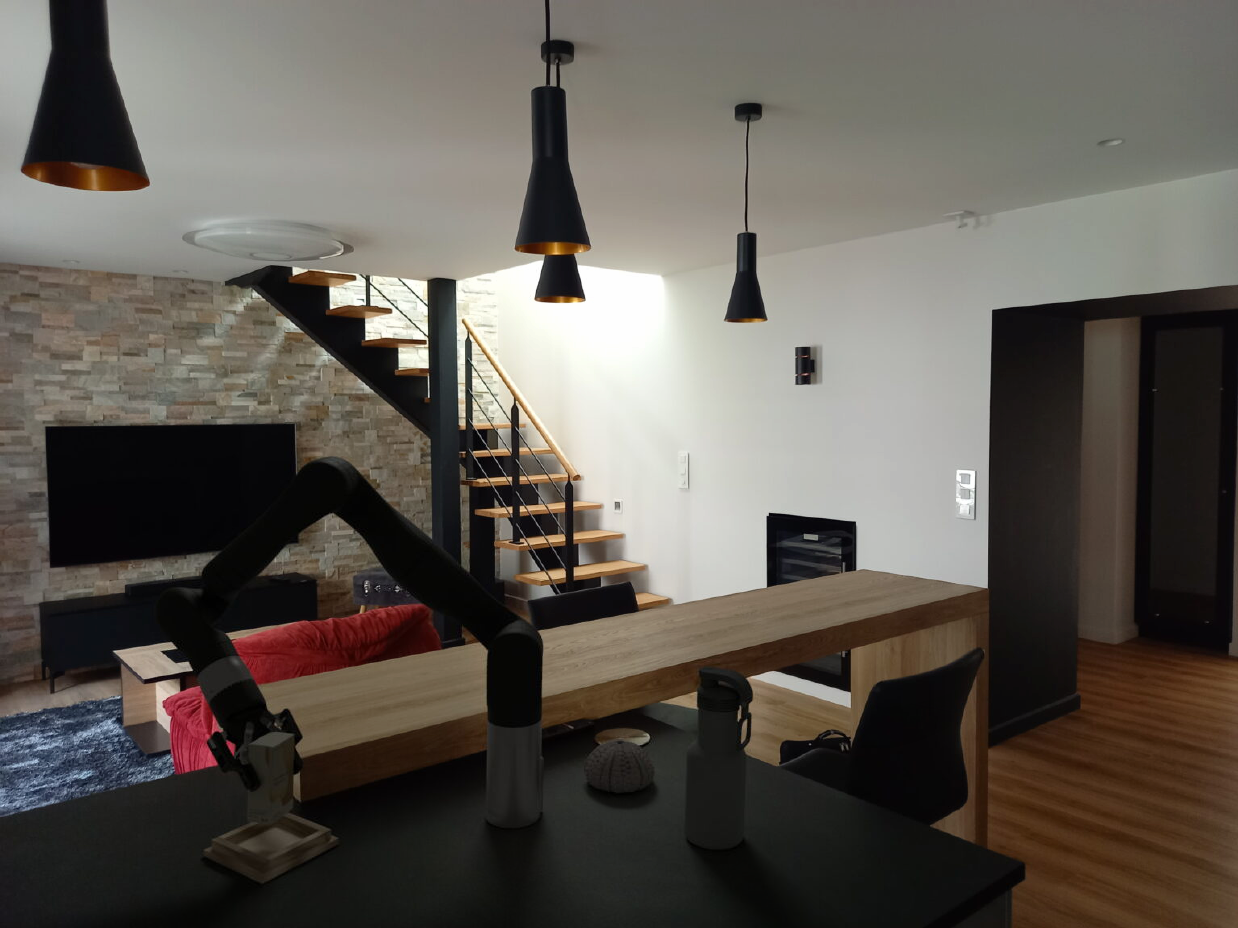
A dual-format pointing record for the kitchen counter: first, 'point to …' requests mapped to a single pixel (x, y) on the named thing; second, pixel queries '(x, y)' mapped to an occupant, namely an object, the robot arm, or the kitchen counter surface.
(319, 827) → the tray
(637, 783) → the sea urchin shell
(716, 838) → the water bottle
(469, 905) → the kitchen counter surface
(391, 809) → the kitchen counter surface
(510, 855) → the kitchen counter surface
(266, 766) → the skincare box
